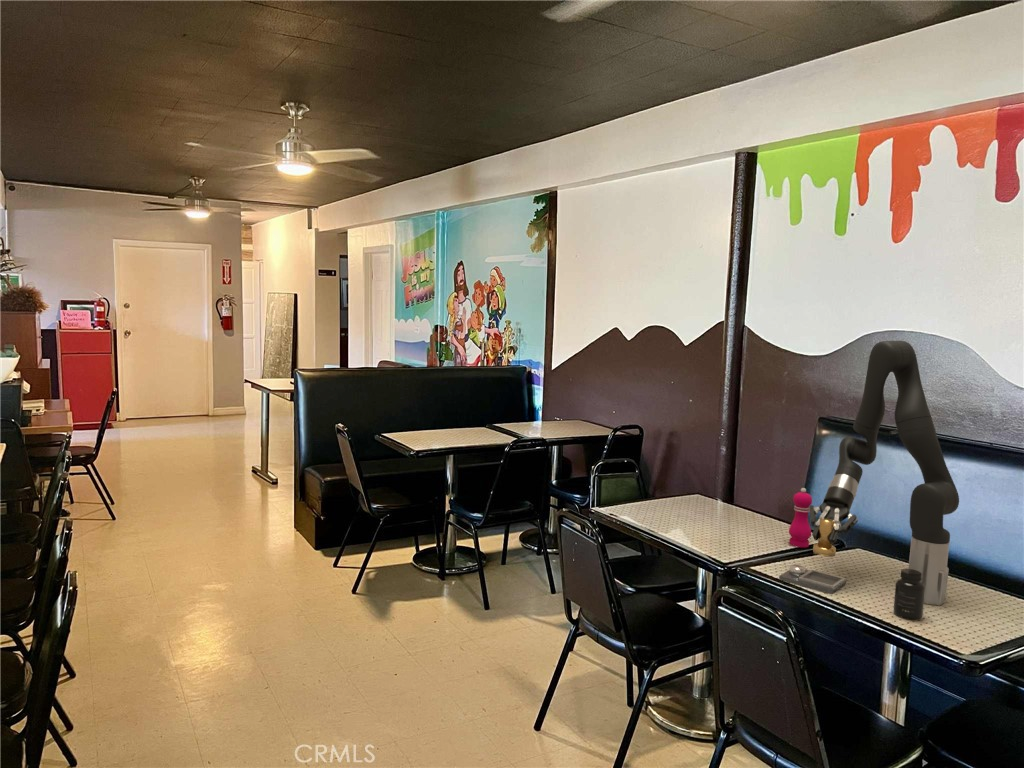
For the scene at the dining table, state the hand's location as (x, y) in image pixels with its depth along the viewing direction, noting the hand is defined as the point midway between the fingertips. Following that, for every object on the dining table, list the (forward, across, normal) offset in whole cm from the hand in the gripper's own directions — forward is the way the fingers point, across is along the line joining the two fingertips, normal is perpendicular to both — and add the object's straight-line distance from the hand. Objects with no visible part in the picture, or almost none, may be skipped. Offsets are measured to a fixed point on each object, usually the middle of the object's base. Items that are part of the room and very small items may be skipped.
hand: (823, 540), depth 209 cm
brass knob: (+2, 0, +4) cm, 5 cm away
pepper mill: (-15, -20, +35) cm, 43 cm away
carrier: (+8, -3, +11) cm, 14 cm away
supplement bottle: (+12, +24, +7) cm, 28 cm away
